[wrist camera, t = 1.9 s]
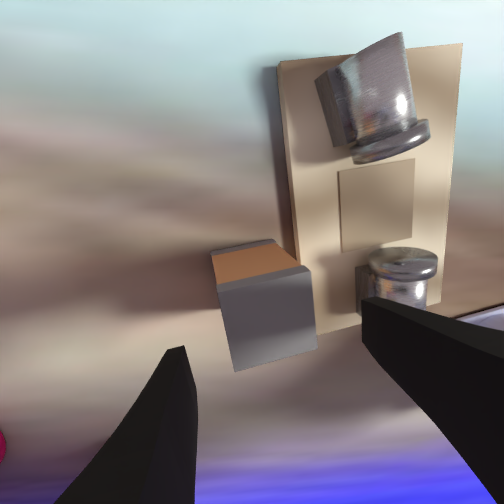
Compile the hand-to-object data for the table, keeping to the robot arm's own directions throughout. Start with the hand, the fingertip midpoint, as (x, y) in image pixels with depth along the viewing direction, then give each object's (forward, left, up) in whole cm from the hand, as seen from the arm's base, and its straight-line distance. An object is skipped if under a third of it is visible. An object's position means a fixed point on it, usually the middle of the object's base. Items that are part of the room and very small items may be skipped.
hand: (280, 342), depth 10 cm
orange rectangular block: (0, 0, -8) cm, 8 cm away
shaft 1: (+9, -8, -7) cm, 14 cm away
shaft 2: (-2, -9, -7) cm, 12 cm away
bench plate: (+3, -9, -7) cm, 12 cm away
